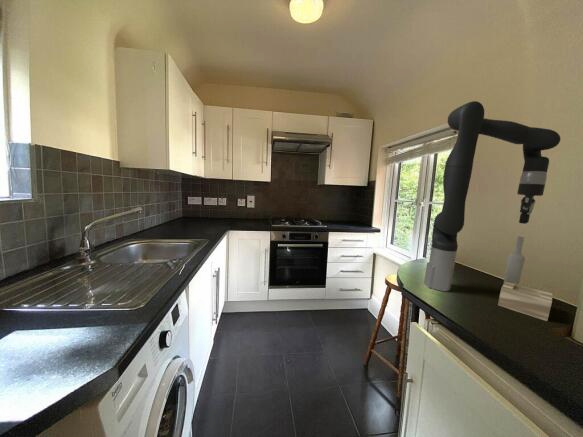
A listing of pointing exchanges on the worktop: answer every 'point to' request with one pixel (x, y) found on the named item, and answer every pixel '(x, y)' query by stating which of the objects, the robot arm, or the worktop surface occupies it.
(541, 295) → the socket holder
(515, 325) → the worktop surface
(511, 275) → the bottle
